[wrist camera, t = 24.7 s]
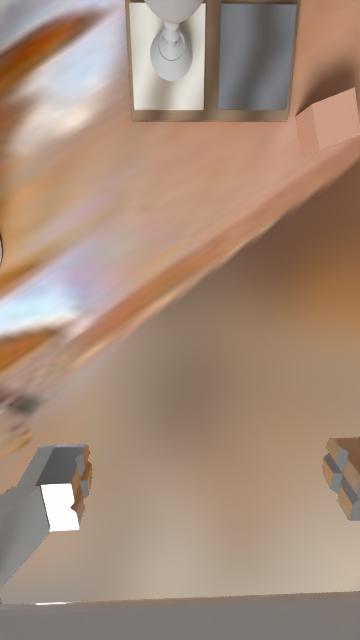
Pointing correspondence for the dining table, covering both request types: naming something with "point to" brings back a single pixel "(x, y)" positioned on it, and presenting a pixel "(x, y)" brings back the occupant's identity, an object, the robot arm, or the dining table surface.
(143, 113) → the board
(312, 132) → the terracotta cube
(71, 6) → the dining table surface
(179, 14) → the chalice
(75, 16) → the dining table surface
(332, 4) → the dining table surface
